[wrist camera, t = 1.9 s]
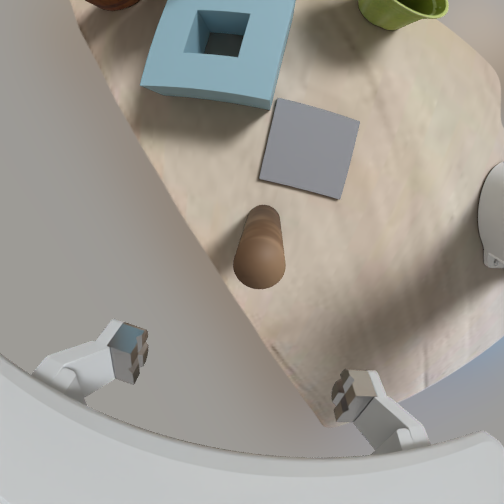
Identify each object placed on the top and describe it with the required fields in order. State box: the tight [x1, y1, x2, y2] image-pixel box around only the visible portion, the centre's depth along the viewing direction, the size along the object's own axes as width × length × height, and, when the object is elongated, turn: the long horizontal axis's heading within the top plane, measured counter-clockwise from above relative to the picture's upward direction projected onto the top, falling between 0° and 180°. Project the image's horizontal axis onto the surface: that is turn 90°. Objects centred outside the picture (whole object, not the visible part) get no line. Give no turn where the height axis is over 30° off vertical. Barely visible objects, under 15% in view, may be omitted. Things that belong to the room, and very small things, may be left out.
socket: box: [140, 0, 296, 110], centre depth 20 cm, size 12×12×6 cm
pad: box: [259, 98, 360, 199], centre depth 26 cm, size 9×9×1 cm
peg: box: [233, 205, 285, 289], centre depth 24 cm, size 4×4×12 cm
